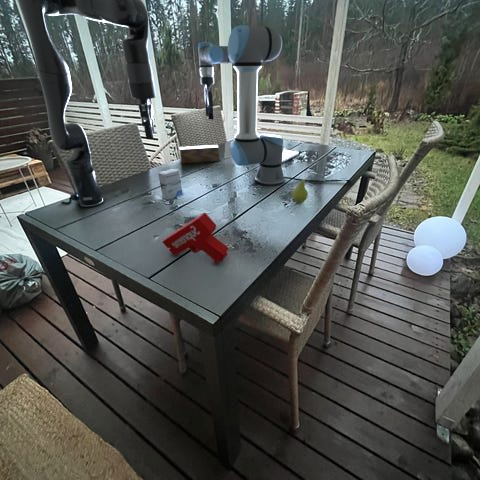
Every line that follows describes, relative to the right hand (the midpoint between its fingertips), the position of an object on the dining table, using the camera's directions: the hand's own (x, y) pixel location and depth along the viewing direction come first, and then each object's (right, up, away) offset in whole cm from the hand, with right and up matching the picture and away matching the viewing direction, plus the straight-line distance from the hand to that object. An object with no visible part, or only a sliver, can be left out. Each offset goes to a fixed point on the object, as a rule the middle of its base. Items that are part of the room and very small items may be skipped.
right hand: (209, 117), depth 163 cm
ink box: (-14, -53, -35) cm, 65 cm away
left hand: (-12, -38, -71) cm, 82 cm away
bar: (-8, -22, +13) cm, 27 cm away
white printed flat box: (+36, -16, +23) cm, 46 cm away
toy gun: (+4, -79, -75) cm, 109 cm away
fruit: (+45, -57, -41) cm, 83 cm away
